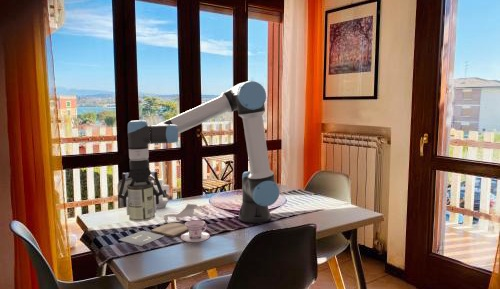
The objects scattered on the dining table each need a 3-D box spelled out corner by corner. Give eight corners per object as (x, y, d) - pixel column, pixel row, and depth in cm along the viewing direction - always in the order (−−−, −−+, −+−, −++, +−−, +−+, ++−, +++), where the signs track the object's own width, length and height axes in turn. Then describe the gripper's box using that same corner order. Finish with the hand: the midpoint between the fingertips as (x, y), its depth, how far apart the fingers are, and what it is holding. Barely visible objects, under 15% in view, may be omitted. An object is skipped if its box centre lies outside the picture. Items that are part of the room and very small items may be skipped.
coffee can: (135, 214, 157) (133, 181, 155) (158, 214, 156) (157, 181, 154) (124, 221, 146) (122, 186, 145) (149, 222, 145) (147, 187, 144)
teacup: (182, 244, 146) (181, 228, 145) (179, 234, 157) (179, 219, 157) (212, 241, 149) (212, 226, 148) (207, 231, 161) (207, 217, 160)
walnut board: (193, 228, 164) (193, 226, 164) (173, 237, 153) (173, 235, 153) (172, 223, 171) (172, 221, 171) (151, 231, 160) (151, 229, 159)
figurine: (170, 207, 198) (169, 179, 196) (152, 208, 195) (151, 180, 193) (168, 203, 204) (168, 177, 203) (151, 205, 201) (150, 178, 200)
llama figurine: (200, 232, 179) (161, 219, 174) (210, 208, 179) (171, 195, 174) (201, 233, 177) (161, 221, 172) (210, 209, 177) (171, 196, 172)
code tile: (164, 236, 154) (164, 235, 154) (140, 246, 143) (140, 245, 143) (142, 230, 161) (142, 230, 161) (118, 240, 150) (118, 239, 150)
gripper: (108, 162, 142) (111, 218, 145) (168, 158, 147) (170, 213, 150) (110, 159, 149) (113, 212, 152) (167, 156, 155) (170, 208, 157)
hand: (141, 213), depth 151 cm, fingers closed on coffee can, 10 cm apart
